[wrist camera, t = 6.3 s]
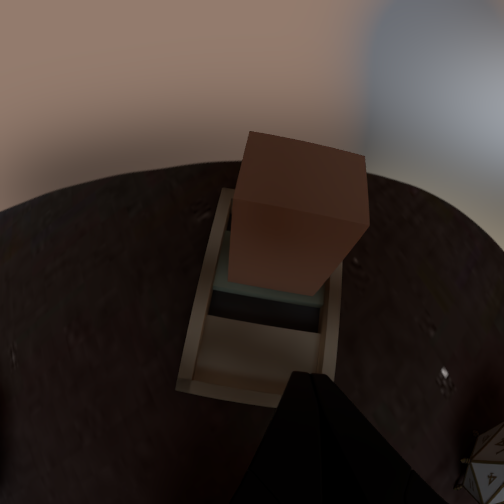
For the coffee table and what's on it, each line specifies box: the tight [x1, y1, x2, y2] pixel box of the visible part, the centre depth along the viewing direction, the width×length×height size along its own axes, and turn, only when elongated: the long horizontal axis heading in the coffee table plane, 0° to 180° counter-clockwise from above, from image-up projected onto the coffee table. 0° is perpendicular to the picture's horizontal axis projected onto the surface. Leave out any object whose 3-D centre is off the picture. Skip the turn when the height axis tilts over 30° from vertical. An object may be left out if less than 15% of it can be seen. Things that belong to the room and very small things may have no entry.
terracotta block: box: [228, 131, 370, 296], centre depth 17 cm, size 4×6×9 cm
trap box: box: [175, 187, 343, 408], centre depth 21 cm, size 14×9×2 cm, turn 171°
